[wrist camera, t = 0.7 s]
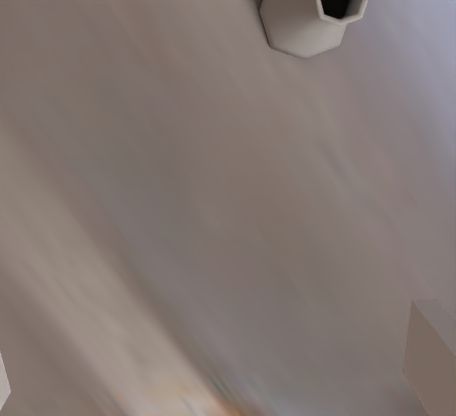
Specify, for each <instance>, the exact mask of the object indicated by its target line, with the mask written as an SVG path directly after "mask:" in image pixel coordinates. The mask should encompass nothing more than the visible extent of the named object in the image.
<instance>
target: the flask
mask: <svg viewBox="0 0 456 416" xmlns="http://www.w3.org/2000/svg"><path fill="white" fill-rule="evenodd" d="M367 3H368V0H263V1H262V4H261V7H260V15H261V18H262V21H263V24H264V28H265V31H266V34H267V37H268V41H269V44H270V47H271V49H274V50H277V51H280V52H283V53H286V54H290V55H293V56H296V57H299V58H302V59H307V58H310V57H313V56H315V55H318V54H320V53H323V52H326V51H328V50H331V49H334V48H336V47H339V46H340V43H341V40H342V37H343V35H344V32H345V29H346V26H347V24H348V23H350V22H353V21H355V20H358V19H361V18H362V16H363V13H364V11H365V8H366V5H367Z"/></svg>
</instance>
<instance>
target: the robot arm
mask: <svg viewBox="0 0 456 416" xmlns="http://www.w3.org/2000/svg"><path fill="white" fill-rule="evenodd" d="M403 372H404V374H405V376H406V377H407V379H408V381H409V382H410V384H411V386H412V388H413V389H414V391H415V393H416V394H417V396H418V398H419V399H420V401H421V403H422V405H423V406H424V408H425V410H426V411H427V413H428V415H429V416H456V321H455V320H454V319H453V318H452V317H451V316H450V315H449V314H448V312H447V311H446V310H445V309H444V308H443V307H442V306H441V305H440V303H439V302H438V301H437V300H436V299H433V300H413V301H412V304H411V311H410V319H409V326H408V334H407V341H406V349H405V356H404V364H403ZM10 392H11V390H10V386H9V382H8V379H7V375H6V371H5V367H4V364H3V360H2V356H1V352H0V410H1V408H2V406H3V404H4V403H5V401H6V399H7V398H8V396H9V394H10Z"/></svg>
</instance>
